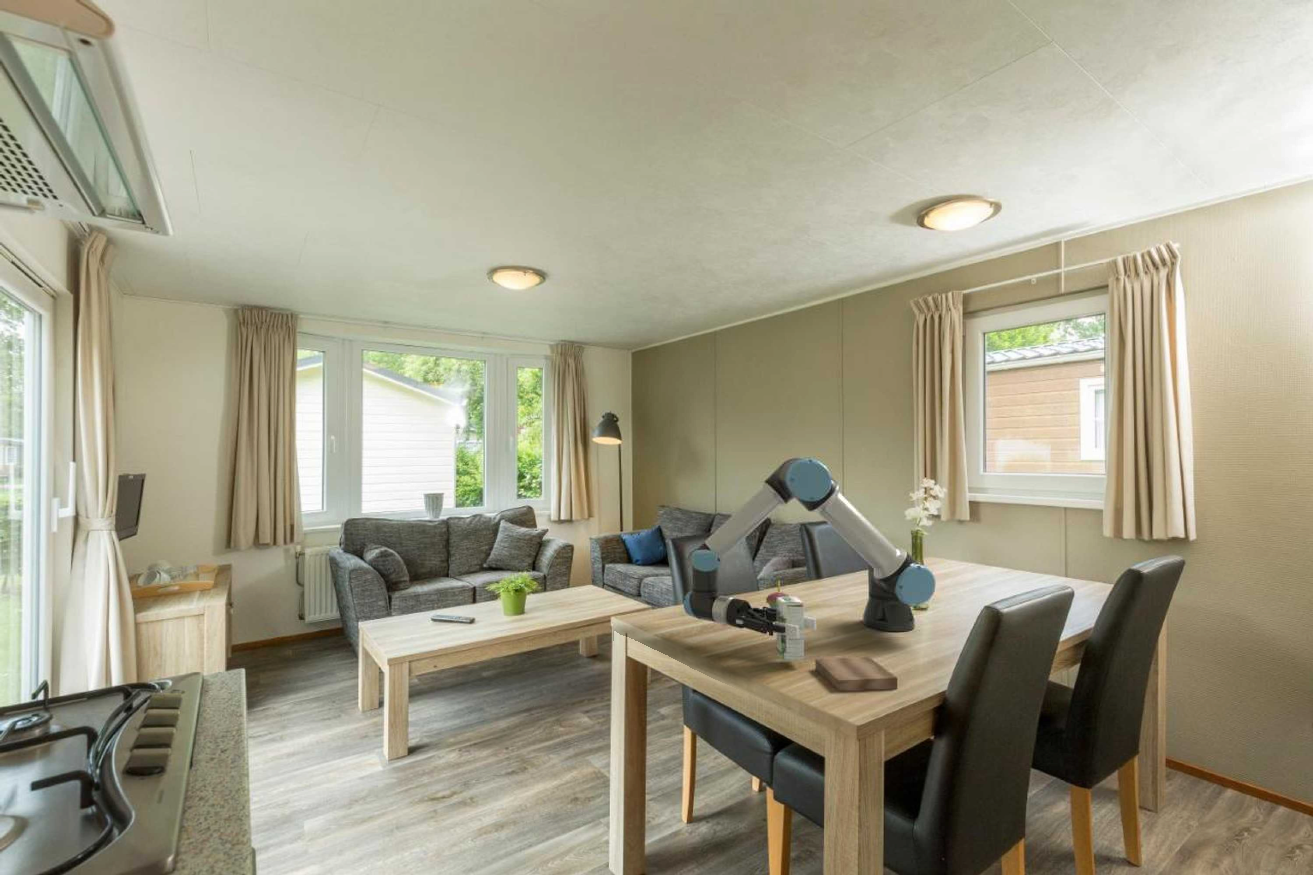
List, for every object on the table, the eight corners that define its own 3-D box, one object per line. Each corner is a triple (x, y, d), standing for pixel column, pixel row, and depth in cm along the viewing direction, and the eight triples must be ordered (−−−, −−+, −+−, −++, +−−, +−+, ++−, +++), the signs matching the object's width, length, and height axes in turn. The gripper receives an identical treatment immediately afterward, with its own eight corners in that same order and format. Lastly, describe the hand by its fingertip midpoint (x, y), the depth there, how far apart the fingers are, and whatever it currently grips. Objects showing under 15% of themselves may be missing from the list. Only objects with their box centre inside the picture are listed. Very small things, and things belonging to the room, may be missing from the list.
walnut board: (868, 666, 152) (868, 656, 152) (897, 688, 138) (897, 677, 138) (815, 669, 151) (815, 659, 151) (838, 691, 137) (838, 680, 137)
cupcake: (792, 618, 196) (792, 581, 196) (765, 616, 198) (765, 580, 198) (791, 611, 204) (791, 575, 205) (766, 610, 206) (766, 574, 206)
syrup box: (776, 652, 157) (775, 596, 157) (798, 651, 157) (797, 595, 157) (782, 660, 151) (781, 602, 151) (805, 659, 151) (804, 601, 152)
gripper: (754, 617, 174) (827, 633, 158) (709, 634, 159) (785, 653, 143) (753, 591, 174) (826, 604, 159) (709, 605, 159) (784, 622, 143)
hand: (806, 628), depth 151 cm, fingers closed on syrup box, 8 cm apart
